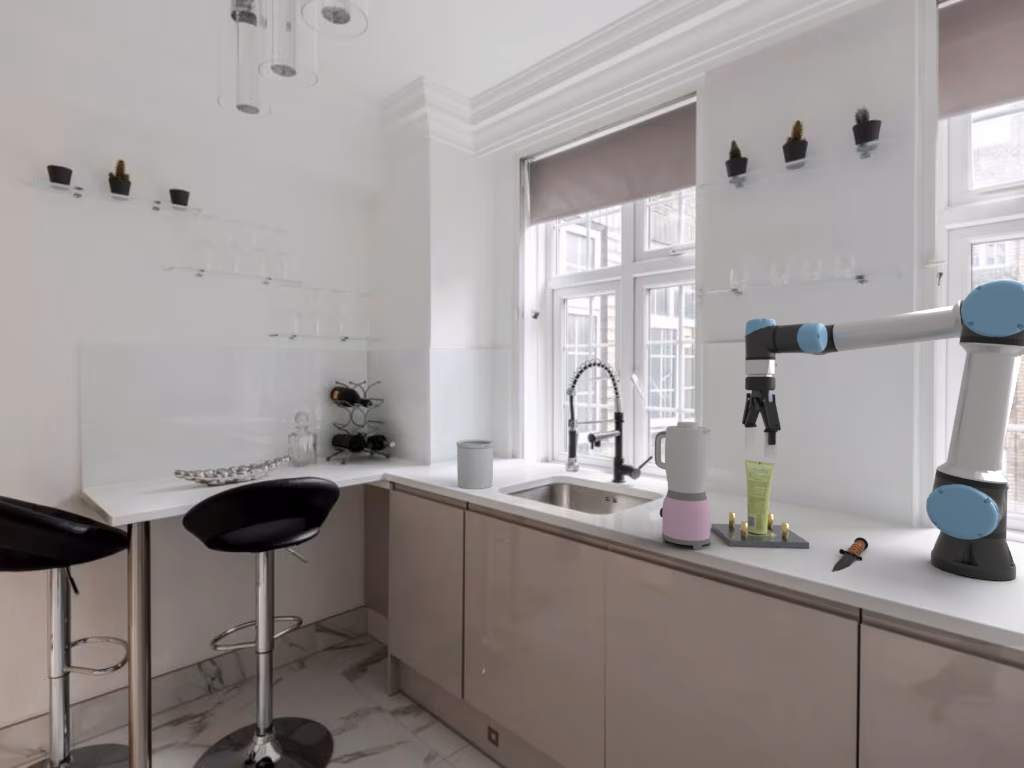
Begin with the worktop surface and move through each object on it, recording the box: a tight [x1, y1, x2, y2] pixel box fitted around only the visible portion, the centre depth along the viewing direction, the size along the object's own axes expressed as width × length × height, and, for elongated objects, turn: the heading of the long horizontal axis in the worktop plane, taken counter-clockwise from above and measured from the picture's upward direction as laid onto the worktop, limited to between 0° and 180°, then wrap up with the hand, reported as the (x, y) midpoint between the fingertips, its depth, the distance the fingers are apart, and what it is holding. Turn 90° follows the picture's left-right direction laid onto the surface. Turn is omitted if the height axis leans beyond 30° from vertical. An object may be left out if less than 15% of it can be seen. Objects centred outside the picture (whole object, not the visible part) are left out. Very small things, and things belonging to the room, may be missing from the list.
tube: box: [744, 459, 775, 534], centre depth 148 cm, size 6×5×20 cm
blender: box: [654, 421, 712, 551], centre depth 145 cm, size 16×12×32 cm
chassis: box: [710, 511, 810, 549], centre depth 148 cm, size 16×20×6 cm
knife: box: [831, 537, 869, 573], centre depth 132 cm, size 25×3×5 cm
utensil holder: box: [456, 438, 495, 490], centre depth 215 cm, size 15×15×18 cm
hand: (760, 453), depth 148 cm, fingers open, 13 cm apart
